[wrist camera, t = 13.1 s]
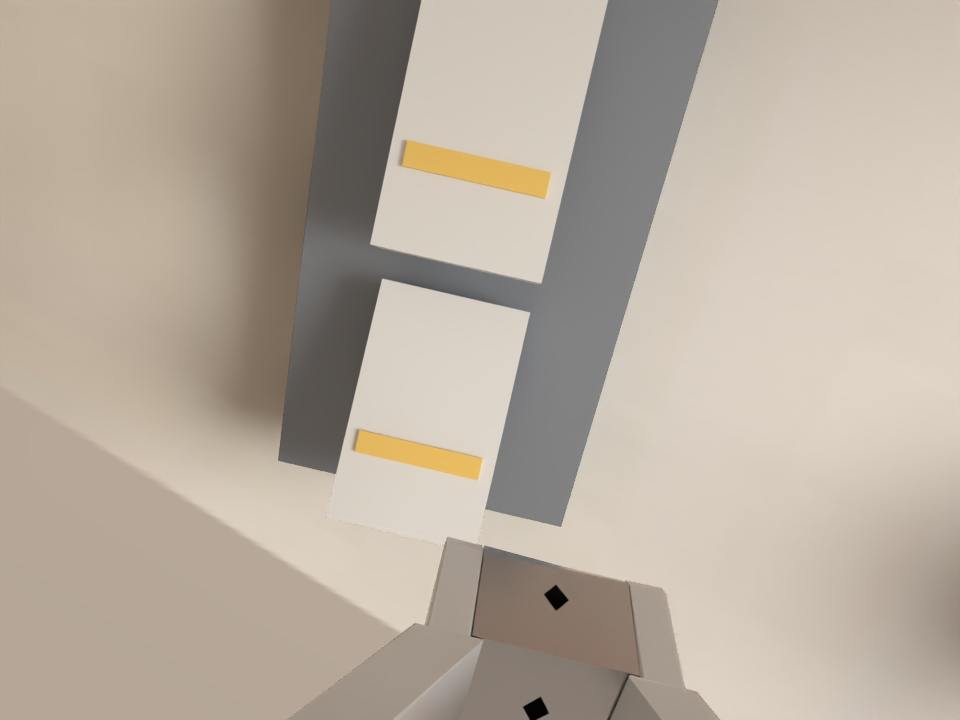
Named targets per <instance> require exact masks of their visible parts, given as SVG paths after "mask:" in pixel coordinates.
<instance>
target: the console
mask: <svg viewBox="0 0 960 720" xmlns="http://www.w3.org/2000/svg"><path fill="white" fill-rule="evenodd" d="M717 4H718V0H608V3H607V7H606V12H605V16H604V20H603V24H602V29H601V33H600V37H599V41H598V45H597V50H596V54H595V58H594V62H593V67H592V71H591V75H590V79H589V84H588V88H587V92H586V96H585V101H584V105H583V109H582V113H581V118H580V122H579V126H578V130H577V135H576V139H575V143H574V147H573V152H572V156H571V160H570V164H569V169H568V173H567V177H566V181H565V186H564V190H563V194H562V198H561V203H560V207H559V211H558V215H557V220H556V224H555V228H554V232H553V237H552V241H551V245H550V249H549V254H548V258H547V262H546V266H545V271H544V275H543V279H542V283H541V284H539V285H538V284H534V283H530V282H525V281H521V280H517V279H512V278H508V277H503V276H499V275H495V274H490V273H486V272H482V271H477V270H473V269H469V268H464V267H460V266H455V265H451V264H447V263H442V262H438V261H434V260H429V259H425V258H420V257H416V256H412V255H407V254H403V253H399V252H394V251H390V250H386V249H381V248H378V247H376V246H373V245H371V244H370V242H371V237H372V233H373V228H374V223H375V218H376V214H377V209H378V204H379V199H380V195H381V190H382V185H383V180H384V176H385V171H386V166H387V161H388V157H389V152H390V147H391V142H392V138H393V133H394V128H395V124H396V119H397V114H398V109H399V105H400V100H401V95H402V90H403V86H404V81H405V76H406V71H407V67H408V62H409V57H410V52H411V48H412V43H413V38H414V33H415V29H416V24H417V19H418V14H419V10H420V5H421V0H332V1H331V9H330V18H329V27H328V35H327V44H326V52H325V61H324V70H323V78H322V87H321V95H320V104H319V113H318V121H317V130H316V138H315V147H314V156H313V164H312V174H311V182H310V191H309V200H308V208H307V217H306V225H305V234H304V243H303V251H302V260H301V268H300V276H299V285H298V293H297V302H296V310H295V319H294V328H293V336H292V345H291V353H290V362H289V371H288V379H287V388H286V396H285V406H284V415H283V423H282V432H281V440H280V449H279V458H278V461H282V462H286V463H291V464H295V465H299V466H303V467H308V468H312V469H316V470H321V471H325V472H329V473H333V474H336V472H337V468H338V463H339V459H340V455H341V451H342V446H343V442H344V438H345V434H346V429H347V425H348V421H349V417H350V413H351V408H352V404H353V400H354V396H355V391H356V387H357V383H358V379H359V375H360V370H361V366H362V362H363V358H364V353H365V349H366V345H367V341H368V336H369V332H370V328H371V324H372V320H373V315H374V311H375V307H376V303H377V298H378V294H379V290H380V286H381V282H382V279H387V280H391V281H395V282H400V283H404V284H408V285H413V286H417V287H421V288H426V289H430V290H434V291H439V292H443V293H448V294H452V295H456V296H461V297H465V298H469V299H474V300H478V301H482V302H487V303H491V304H495V305H500V306H504V307H509V308H513V309H517V310H522V311H526V312H530V316H529V320H528V324H527V329H526V333H525V338H524V342H523V346H522V351H521V355H520V359H519V364H518V368H517V372H516V377H515V381H514V385H513V390H512V394H511V399H510V403H509V407H508V412H507V416H506V420H505V425H504V429H503V433H502V438H501V442H500V446H499V451H498V455H497V460H496V464H495V468H494V473H493V477H492V481H491V486H490V490H489V494H488V499H487V503H486V507H485V509H487V510H492V511H496V512H500V513H504V514H509V515H513V516H517V517H521V518H526V519H530V520H534V521H539V522H543V523H547V524H551V525H556V526H560V527H561V525H562V521H563V518H564V515H565V511H566V508H567V505H568V501H569V498H570V495H571V491H572V488H573V485H574V481H575V478H576V475H577V471H578V468H579V465H580V461H581V458H582V455H583V451H584V448H585V445H586V441H587V438H588V435H589V431H590V428H591V425H592V421H593V418H594V415H595V411H596V408H597V405H598V401H599V398H600V395H601V391H602V388H603V384H604V381H605V378H606V374H607V371H608V368H609V364H610V361H611V358H612V354H613V351H614V348H615V344H616V341H617V338H618V334H619V331H620V328H621V324H622V321H623V318H624V314H625V311H626V308H627V304H628V301H629V298H630V294H631V291H632V288H633V284H634V281H635V278H636V274H637V271H638V268H639V264H640V261H641V258H642V254H643V251H644V248H645V244H646V241H647V238H648V234H649V231H650V228H651V224H652V221H653V217H654V214H655V211H656V207H657V204H658V201H659V197H660V194H661V191H662V187H663V184H664V181H665V177H666V174H667V171H668V167H669V164H670V161H671V157H672V154H673V151H674V147H675V144H676V141H677V137H678V134H679V131H680V127H681V124H682V121H683V117H684V114H685V111H686V107H687V104H688V101H689V97H690V94H691V91H692V87H693V84H694V81H695V77H696V74H697V71H698V67H699V64H700V61H701V57H702V54H703V51H704V47H705V44H706V40H707V37H708V34H709V30H710V27H711V24H712V20H713V17H714V14H715V10H716V7H717Z"/></svg>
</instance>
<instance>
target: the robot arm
mask: <svg viewBox="0 0 960 720" xmlns="http://www.w3.org/2000/svg"><path fill="white" fill-rule="evenodd" d="M287 720H720V719H719V717H718V716H717V715H716V714H715V713H714V712H713V710H712V709H711V708H710V707H709V706H708V704H707V703H706V702H705V701H704V700H703V698H702V697H701V696H700V695H699V694H698V692H696V691H692V690H688V689H686V688H685V683H684V678H683V673H682V668H681V663H680V658H679V653H678V648H677V643H676V639H675V634H674V629H673V624H672V619H671V614H670V609H669V604H668V599H667V594H666V593H665V592H664V590H663V589H662V588H658V587H653V586H649V585H644V584H640V583H635V582H630V581H625V582H624V581H622V580H617V579H613V578H609V577H605V576H601V575H596V574H592V573H588V572H584V571H579V570H575V569H571V568H567V567H563V566H558V565H555V564H551V563H548V562H544V561H540V560H536V559H533V558H529V557H525V556H521V555H518V554H514V553H510V552H506V551H503V550H499V549H495V548H491V547H488V546H484V548H483V547H482V545H478V544H474V543H470V542H467V541H463V540H459V539H455V538H451V537H447V539H446V542H445V545H444V549H443V553H442V557H441V561H440V565H439V569H438V573H437V577H436V581H435V585H434V589H433V593H432V597H431V601H430V605H429V609H428V613H427V617H426V622H425V625H421V624H416V623H415V624H413V625H412V626H411V627H409V628H408V629H407V630H405V631H404V632H403V633H401V634H400V635H399V636H397V637H396V638H395V639H393V640H392V641H391V642H389V643H388V644H387V645H385V646H384V647H383V648H381V649H380V650H379V651H378V652H376V653H375V654H373V655H372V656H371V657H369V658H368V659H367V660H365V661H364V662H363V663H362V664H360V665H359V666H357V667H356V668H355V669H354V670H352V671H351V672H350V673H348V674H347V675H346V676H344V677H343V678H342V679H340V680H339V681H338V682H336V683H335V684H334V685H333V686H331V687H330V688H328V689H327V690H326V691H324V692H323V693H322V694H321V695H319V696H318V697H316V698H315V699H314V700H312V701H311V702H310V703H308V704H307V705H306V706H304V707H303V708H302V709H301V710H299V711H298V712H296V713H295V714H294V715H293V716H291V717H290V718H288V719H287Z"/></svg>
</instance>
